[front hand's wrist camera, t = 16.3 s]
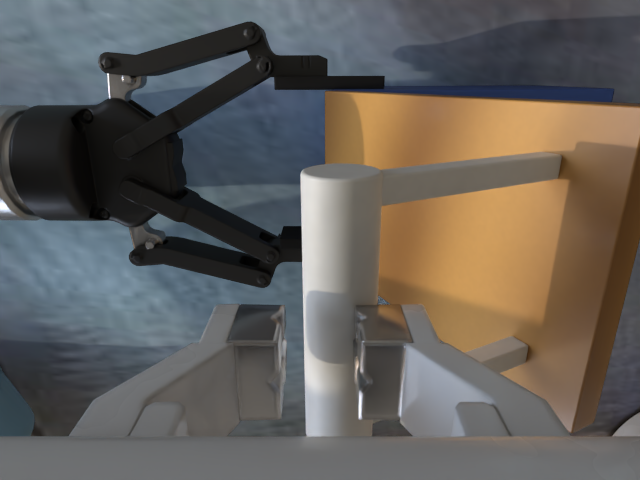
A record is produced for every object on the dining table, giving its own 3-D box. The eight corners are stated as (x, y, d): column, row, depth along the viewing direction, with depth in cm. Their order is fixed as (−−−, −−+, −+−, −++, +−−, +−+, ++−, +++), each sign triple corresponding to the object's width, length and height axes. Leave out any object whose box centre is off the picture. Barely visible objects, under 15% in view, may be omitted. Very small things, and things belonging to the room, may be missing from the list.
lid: (674, 105, 11) (363, 122, 7) (594, 422, 14) (352, 550, 10) (342, 90, 24) (174, 94, 21) (340, 254, 28) (195, 283, 24)
